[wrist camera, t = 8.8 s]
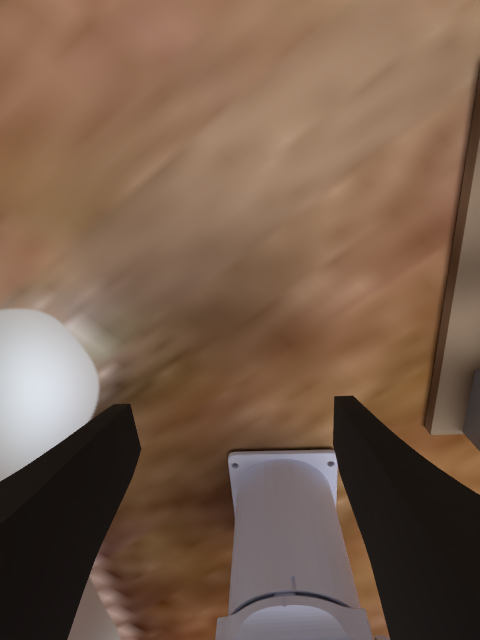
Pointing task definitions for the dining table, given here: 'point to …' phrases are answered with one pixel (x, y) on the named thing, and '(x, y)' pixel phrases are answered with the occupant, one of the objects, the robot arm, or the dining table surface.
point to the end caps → (473, 413)
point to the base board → (460, 305)
